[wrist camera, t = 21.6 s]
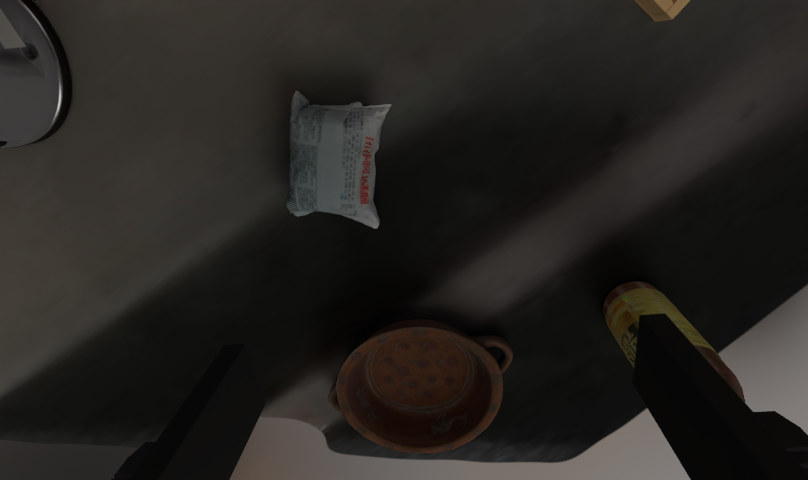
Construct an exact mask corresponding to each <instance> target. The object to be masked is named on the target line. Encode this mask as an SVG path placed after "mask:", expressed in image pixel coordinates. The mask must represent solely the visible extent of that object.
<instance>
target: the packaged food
mask: <svg viewBox="0 0 808 480" xmlns="http://www.w3.org/2000/svg"><path fill="white" fill-rule="evenodd" d="M390 107H391V104H384V105H378V106H366V107H365V106H362V104H361V102H355V103H351V104H350V105H324V106H322V105H316V104H314V105H310V103H309V101H308V100H307V99H306V98H305V97H303V95H301V94H300V92H299V91H294V92H293V96H292V103H291V118H290V160H291V162H290V167H289V179H290V190H289V193H288V197H287V200H286V206H287V208H288V210H289V211H290V213H294V216H297V217H298V216H303V215H307V214H309V213H311V212H314V211H322V212H327V213H333V214H340V215H343V216H345V217H348V218H351V219H354V220H356V221H359V222H362V223H363V224H365V225H368V226H371V227H372V228H374V229H376V228H378V226H379V221H380V220H379V218H378V215H377V211H376V208H375V205H374V202H373V196H374V187H375V176H376V168H375V162H374V159H375V158H374V155H375V153H376V152H377V150H378V149H379V143H380V135H381V126H382V124H383V121H384V119H385V117H386V114H387V112H388V111H389V109H390Z"/></svg>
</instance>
